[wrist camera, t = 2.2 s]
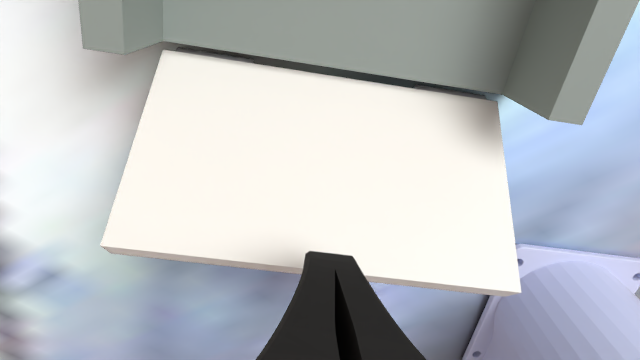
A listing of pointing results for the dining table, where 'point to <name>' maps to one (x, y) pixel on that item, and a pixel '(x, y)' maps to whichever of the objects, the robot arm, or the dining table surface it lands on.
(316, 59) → the cart bed
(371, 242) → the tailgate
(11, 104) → the dining table surface
